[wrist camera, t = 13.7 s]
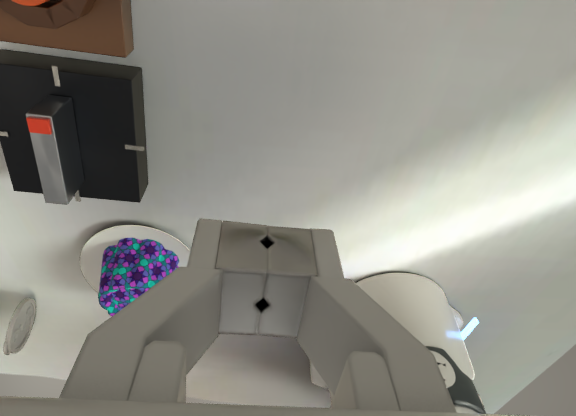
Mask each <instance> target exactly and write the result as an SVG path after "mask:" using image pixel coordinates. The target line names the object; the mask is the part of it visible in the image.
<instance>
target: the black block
mask: <svg viewBox="0 0 576 416" xmlns="http://www.w3.org/2000/svg"><path fill="white" fill-rule="evenodd" d="M48 95H55V96H63V97H71V98H72V103H73V109H74V116H75V122H76V129H77V135H78V142H79V148H80V155H81V161H82V168H83V174H84V182H83V183H82V185H81V186H80V188H79V189H78V190H77V192H76V193H75V195H74V196H75V199H76V201H78V202H80V201H81V198H80V197H86V198H97V199H108V200H119V201H130V202H140V201H141V199H142V197H143V194H144V192H145V190H146V188H147V185H148V172H147V154H146V136H145V118H144V100H143V82H142V68H139V67H131V66H124V65H116V64H108V63H101V62H93V61H86V60H78V59H70V58H63V57H55V56H48V55H40V54H32V53H25V52H17V51H10V50H2V49H1V50H0V142H1V146H2V149H3V153H4V156H5V160H6V163H7V167H8V171H9V174H10V178H11V181H12V185H13V189H14V191H21V192H32V193H43V189H42V185H41V180H40V176H39V172H38V167H37V163H36V158H35V154H34V149H33V145H32V141H31V136H30V132H29V128H28V124H27V119H26V113H27V112H28V111H29V110H31V109H32V108H33V107H34V106H35V105H37V104H38V103H39V102H40V101H42V100H43V99H44V98H45V97H47V96H48Z"/></svg>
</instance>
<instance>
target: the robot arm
mask: <svg viewBox="0 0 576 416" xmlns="http://www.w3.org/2000/svg"><path fill="white" fill-rule="evenodd" d="M478 323H479V322H478V320H477V318H473V319H472V320H471V322H470V323H469V324H468V325H467V326H466V327H465V329H464V330H463V331H462V332H461V333H460V329H461V327H462V326H463V320H462V317H461V315H460V313H459V312H457V311H456V310H455V309H453V308H452V307H451V306H450V305H449V303H448V301H447V298H446V295H445V293H444V291H443V290H442V289H441V287H440V286H439V285H437V284H436V283H435V282H433V281H432V280H430V279H428V278H426V277H423V276H420V275H416V274H411V273H386V274H380V275H376V276H372V277H369V278H366V279H363V280H361V281H359V282H357V283H355V282H353V281H352V280H351V279H344V275H343V271H342V266H341V262H340V258H339V254H338V249H337V245H336V241H335V236H334V232H333V231H332V230H327V229H301V228H288V227H276V226H267V225H259V224H250V223H240V222H231V221H223V223H222V221H221V220H211V219H199V221H198V222H197V226H196V231H195V235H194V239H193V243H192V247H191V251H190V255H189V260H188V264H187V267H181V266H180V267H178V268H177V269H176V270H174V271H173V272H172V273H170V274H169V275H168V276H166V277H165V278H163V279H162V280H161V281H159V282H158V283H157V284H155V285H154V286H153V287H151V288H150V289H149V290H147V291H146V292H145V293H143V294H142V295H140V296H139V297H138V298H136V299H135V300H134V301H132V302H131V303H130V304H128V305H127V306H126V307H124V308H123V309H122V310H120V311H119V312H118V313H116V314H115V315H113V316H112V317H111V318H109V319H108V320H107V321H105V322H104V323H103V324H101V325H100V326H99V327H97V328H96V329H95V330H93V331H92V332H90V333H89V334H88V335H87V337H86V339H85V342H84V344H83V346H82V348H81V351H80V353H79V355H78V357H77V359H76V362H75V364H74V366H73V368H72V370H71V373H70V375H69V377H68V379H67V381H66V384H65V386H64V388H63V390H62V392H61V395H60V397H59V398H40V397H13V396H0V416H527V415H502V414H501V415H500V414H486V412H485V410H484V409H485V408H484V405H483V402H482V399H481V397H480V395H479V394H478V393H477V391H476V388H475V386H474V384H473V382H472V381H473V379H474V377H475V373H474V369H473V366H472V364H471V361H470V358H469V355H468V352H467V349H466V346H465V344H464V341H463V340H464V339H465V338H466V337H467V336H468V335H469V333H470V332H471V331H472V330H473V329H474V328H475V327H476V325H477V324H478ZM218 334H243V335H264V336H276V337H288V338H297V339H296V340H297V342H298V343H299V345H300V346H301V348H302V349H303V351H304V352H305V354H306V355H307V357H308V358H309V359H310V376H311V381H312V383H313V384H315V385H317V386H319V387H322V388H325V389H329V391H330V398H331V406H330V408H311V407H284V406H257V405H230V404H229V405H228V404H202V403H186V375H187V374H188V372H189V371H190V370H191V369H192V368H193V366H194V365H195V364H196V363H197V361H198V360H199V359H200V358H201V356H202V355H203V354H204V353H205V352H206V350H207V349H208V348H209V347H210V345H211V344H212V343H213V342H214V341H215V339H216V338H217V337H218Z"/></svg>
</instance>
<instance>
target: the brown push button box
mask: <svg viewBox="0 0 576 416" xmlns="http://www.w3.org/2000/svg"><path fill="white" fill-rule="evenodd" d="M0 41H5V42H13V43H20V44H28V45H35V46H43V47H50V48H57V49H65V50H72V51H80V52H87V53H95V54H102V55H110V56H117V57H127V56H128V55H129V54H130V53H131V52H132V51H133V49H134V46H133V31H132V16H131V0H50V1H48V2H45V3H42V4H40V5H36V6H25V5H21V4H18V3H15V2H13V1H12V0H0Z"/></svg>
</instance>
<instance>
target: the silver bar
mask: <svg viewBox="0 0 576 416" xmlns="http://www.w3.org/2000/svg"><path fill="white" fill-rule="evenodd" d="M26 119H27V124H28V128H29V132H30V136H31V141H32V145H33V149H34V154H35V158H36V163H37V167H38V172H39V176H40V180H41V185H42V189H43V194H44V198H45V202H46V203H55V204H65V205H67V204H69V202H70V201H71V199H72V198H73V196H74V195H75V193H76V192H77V190H78V189H79V188H80V186H81V185H82V183H83V182H84V174H83V168H82V161H81V155H80V148H79V142H78V135H77V129H76V122H75V116H74V109H73V103H72V98H71V97H63V96H55V95H48V96H47V97H45V98H44V99H43V100H42V101H40V102H39V103H38V104H37V105H35V106H34V107H33V108H32V109H31V110H29V111H28V112H27V113H26Z"/></svg>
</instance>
